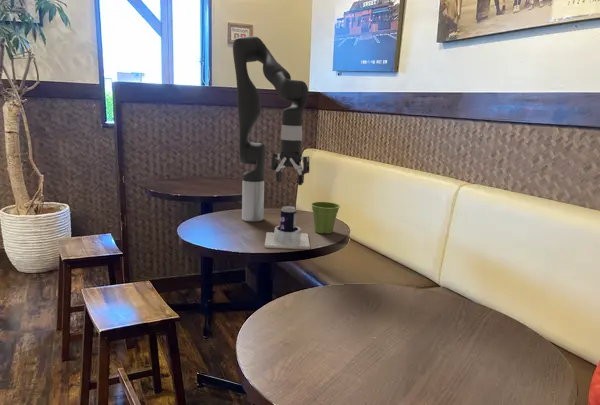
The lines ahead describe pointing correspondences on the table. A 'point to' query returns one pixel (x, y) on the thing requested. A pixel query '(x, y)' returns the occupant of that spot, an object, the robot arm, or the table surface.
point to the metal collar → (287, 239)
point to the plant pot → (324, 216)
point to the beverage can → (288, 219)
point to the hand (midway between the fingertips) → (289, 183)
